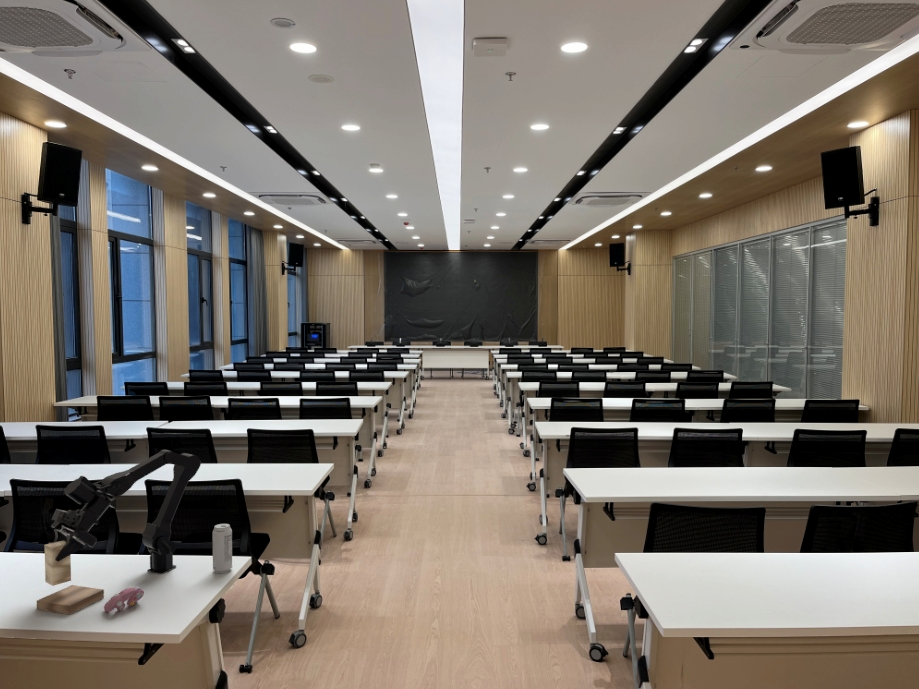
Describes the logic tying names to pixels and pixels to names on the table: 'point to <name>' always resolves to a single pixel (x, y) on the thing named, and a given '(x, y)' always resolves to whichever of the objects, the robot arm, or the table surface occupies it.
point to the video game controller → (124, 599)
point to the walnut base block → (70, 599)
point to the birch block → (56, 564)
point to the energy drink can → (222, 548)
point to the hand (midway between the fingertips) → (52, 558)
